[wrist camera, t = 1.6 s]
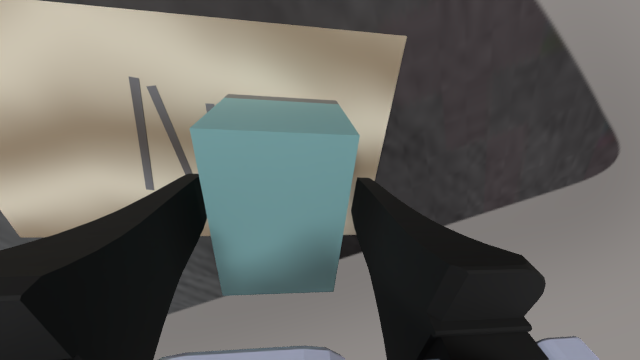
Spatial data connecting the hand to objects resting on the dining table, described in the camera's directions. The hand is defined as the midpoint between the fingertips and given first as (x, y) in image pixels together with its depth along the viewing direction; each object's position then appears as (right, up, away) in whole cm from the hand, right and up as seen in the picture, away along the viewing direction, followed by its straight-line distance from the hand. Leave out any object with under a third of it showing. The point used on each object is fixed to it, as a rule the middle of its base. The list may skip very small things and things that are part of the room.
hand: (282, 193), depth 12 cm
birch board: (-5, +3, +2) cm, 7 cm away
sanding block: (0, +1, +2) cm, 3 cm away
